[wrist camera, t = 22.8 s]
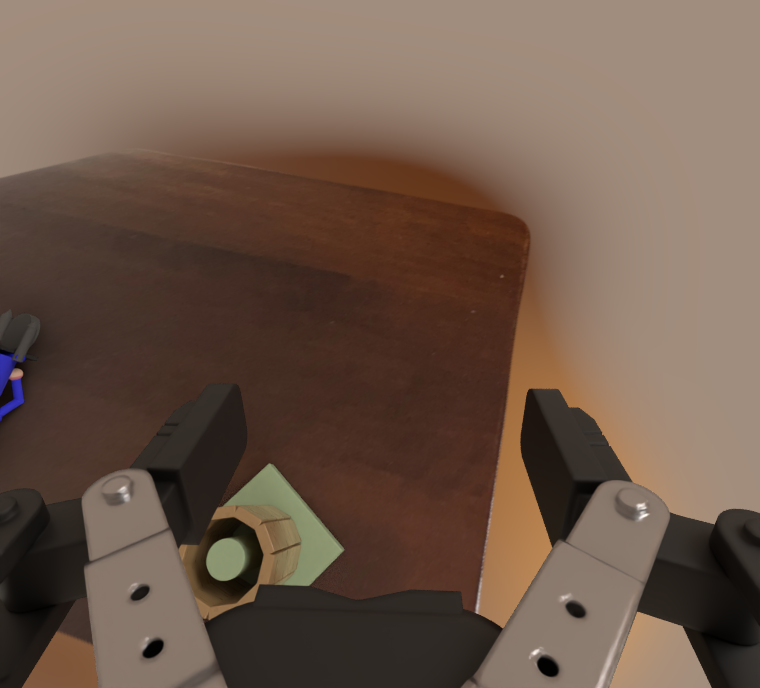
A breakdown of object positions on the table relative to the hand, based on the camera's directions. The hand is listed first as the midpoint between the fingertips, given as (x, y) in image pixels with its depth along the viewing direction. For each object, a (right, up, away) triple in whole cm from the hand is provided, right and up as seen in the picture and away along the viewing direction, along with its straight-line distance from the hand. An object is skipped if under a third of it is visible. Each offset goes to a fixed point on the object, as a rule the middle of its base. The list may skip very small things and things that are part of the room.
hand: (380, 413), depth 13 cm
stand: (-9, -14, +24) cm, 29 cm away
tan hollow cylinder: (-9, -14, +23) cm, 28 cm away
